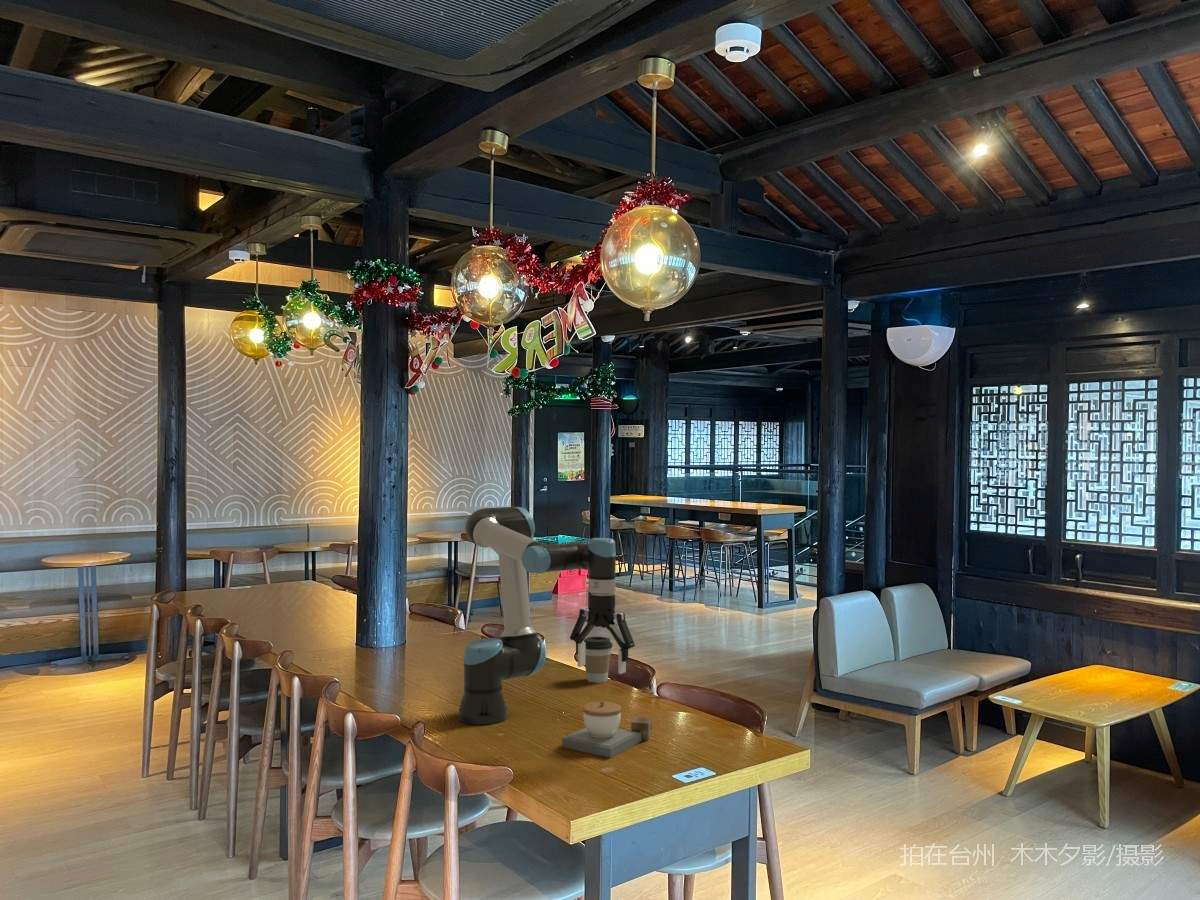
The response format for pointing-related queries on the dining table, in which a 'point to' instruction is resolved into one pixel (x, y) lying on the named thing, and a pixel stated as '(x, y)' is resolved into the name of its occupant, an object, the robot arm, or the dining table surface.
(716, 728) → the dining table surface
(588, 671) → the coffee cup
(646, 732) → the walnut block
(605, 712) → the lidded jar
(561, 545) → the robot arm
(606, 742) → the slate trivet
